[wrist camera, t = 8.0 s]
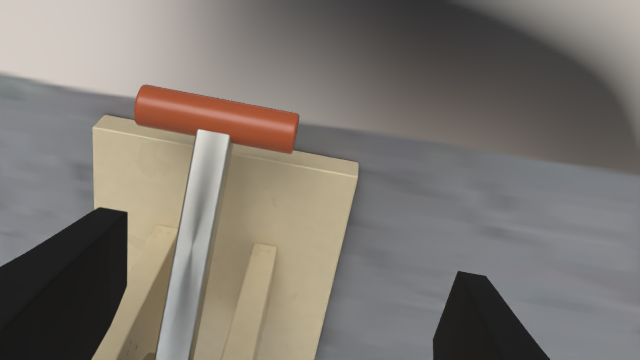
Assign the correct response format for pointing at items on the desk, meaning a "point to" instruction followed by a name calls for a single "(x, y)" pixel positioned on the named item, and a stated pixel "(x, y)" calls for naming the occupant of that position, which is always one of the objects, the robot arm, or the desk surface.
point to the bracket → (225, 243)
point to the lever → (203, 193)
